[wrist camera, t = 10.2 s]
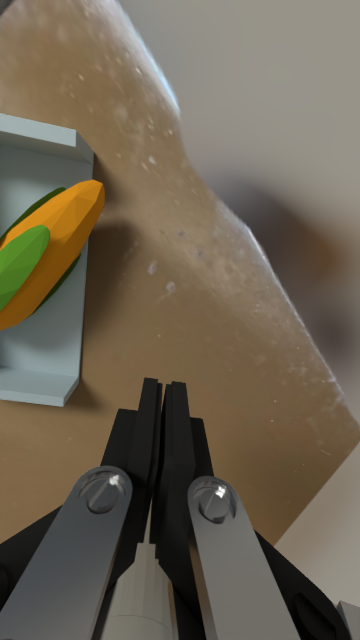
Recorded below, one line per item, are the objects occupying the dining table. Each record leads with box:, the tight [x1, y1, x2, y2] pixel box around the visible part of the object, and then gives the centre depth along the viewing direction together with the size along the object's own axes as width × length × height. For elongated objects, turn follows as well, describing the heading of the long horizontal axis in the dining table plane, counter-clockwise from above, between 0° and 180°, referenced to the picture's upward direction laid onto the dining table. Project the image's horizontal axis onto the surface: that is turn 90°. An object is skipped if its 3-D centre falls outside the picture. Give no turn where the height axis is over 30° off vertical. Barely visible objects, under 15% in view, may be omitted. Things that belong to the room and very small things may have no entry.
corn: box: [0, 180, 105, 331], centre depth 24 cm, size 7×8×20 cm
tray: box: [0, 113, 94, 407], centre depth 26 cm, size 27×12×5 cm, turn 170°
